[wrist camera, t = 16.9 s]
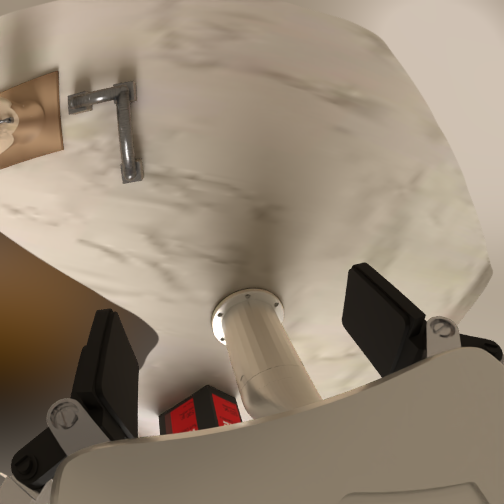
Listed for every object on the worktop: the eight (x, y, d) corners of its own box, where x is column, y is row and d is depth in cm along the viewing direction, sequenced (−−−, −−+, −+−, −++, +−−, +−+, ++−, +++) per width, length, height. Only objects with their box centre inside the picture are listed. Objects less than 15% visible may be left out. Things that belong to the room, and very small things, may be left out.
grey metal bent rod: (143, 176, 35) (140, 183, 31) (85, 186, 33) (75, 195, 30) (136, 83, 29) (131, 79, 26) (74, 97, 28) (63, 95, 24)
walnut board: (63, 149, 30) (61, 150, 30) (2, 168, 28) (0, 169, 27) (58, 71, 25) (56, 70, 25) (-4, 96, 23) (-7, 96, 22)
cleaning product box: (207, 384, 55) (226, 469, 38) (235, 398, 60) (258, 474, 42) (158, 416, 57) (166, 492, 40) (187, 427, 61) (199, 497, 44)
